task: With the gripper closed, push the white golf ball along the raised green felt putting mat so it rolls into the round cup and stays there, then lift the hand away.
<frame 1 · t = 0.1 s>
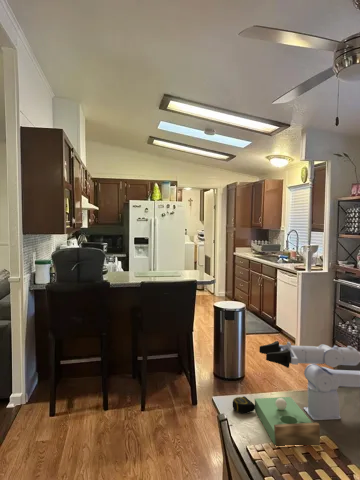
hand: (262, 353, 113), 22 cm above the table, tool horizontal, fingers open, 7 cm apart
green: (284, 425, 107), on the table
end rail: (297, 445, 97), on the table
ball: (281, 404, 110), point 6 cm above the table, touching green
tape measure: (243, 410, 118), on the table
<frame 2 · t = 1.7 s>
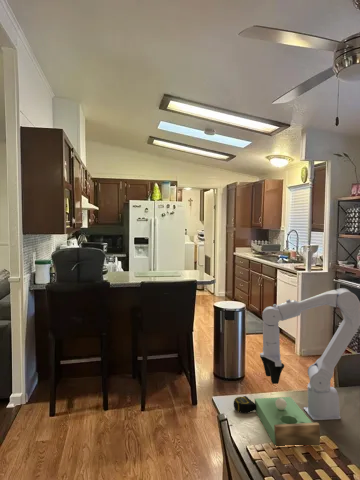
hand: (272, 379, 118), 10 cm above the table, tool pointing down, fingers open, 6 cm apart
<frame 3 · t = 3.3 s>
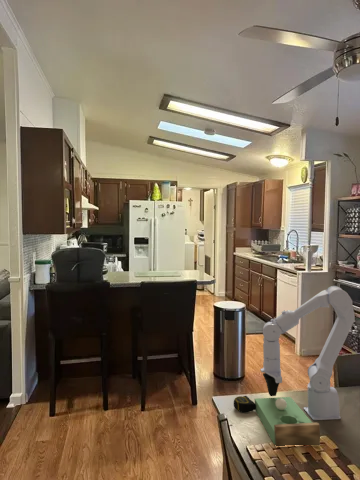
hand: (272, 395, 118), 5 cm above the table, tool pointing down, fingers closed
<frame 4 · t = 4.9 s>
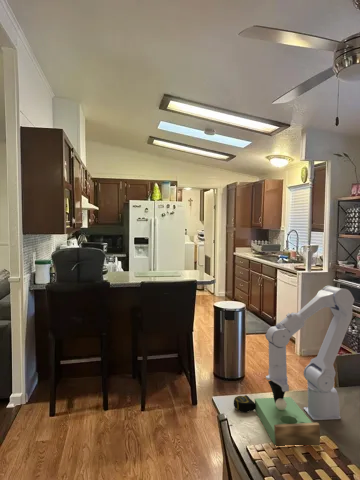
hand: (278, 403, 112), 5 cm above the table, tool pointing down, fingers closed, pressing on ball
ball: (281, 404, 110), point 6 cm above the table, touching green, gripper
tape measure: (245, 409, 119), on the table, touching green
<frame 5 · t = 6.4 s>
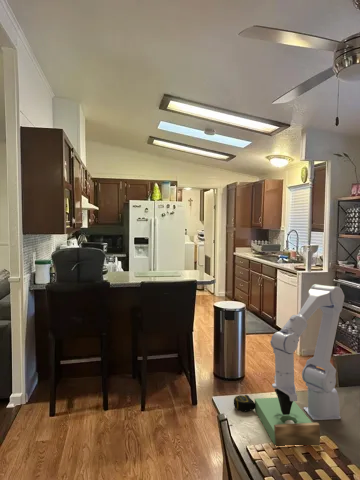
hand: (285, 413, 106), 5 cm above the table, tool pointing down, fingers closed
ball: (289, 426, 104), point 2 cm above the table, tilted 160°
tape measure: (245, 408, 120), on the table
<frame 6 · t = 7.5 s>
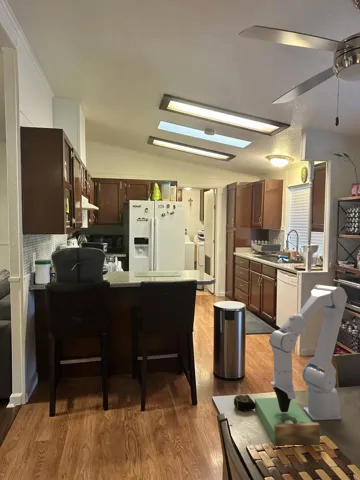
hand: (284, 411, 108), 5 cm above the table, tool pointing down, fingers closed
nothing on the table moved.
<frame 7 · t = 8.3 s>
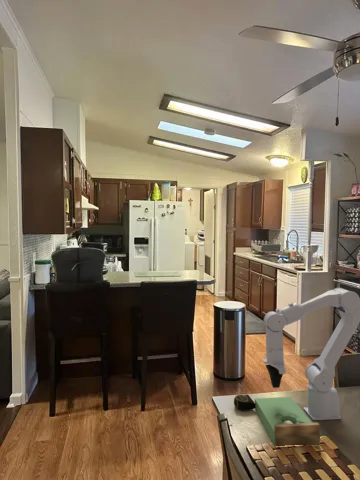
hand: (275, 387, 115), 9 cm above the table, tool pointing down, fingers closed
ball: (288, 427, 103), point 2 cm above the table, tilted 150°
everything else where it was.
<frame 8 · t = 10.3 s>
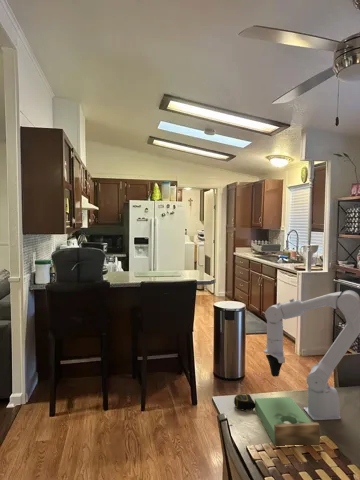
hand: (275, 375, 122), 10 cm above the table, tool pointing down, fingers closed
ball: (287, 427, 103), point 2 cm above the table, tilted 132°
tape measure: (245, 407, 120), on the table, touching green
at the end: ball 0.8 cm from the target spot on the green, point 1.8 cm above the green's base; ball touching table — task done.
